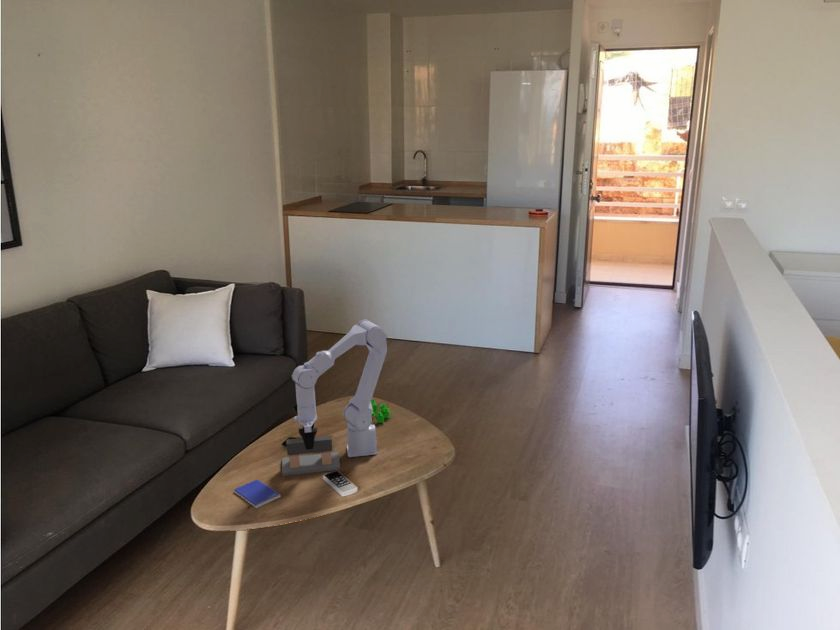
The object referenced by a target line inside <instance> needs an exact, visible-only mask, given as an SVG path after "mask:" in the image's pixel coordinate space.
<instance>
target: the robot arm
mask: <svg viewBox="0 0 840 630" xmlns="http://www.w3.org/2000/svg"><path fill="white" fill-rule="evenodd" d="M387 338H388V334H387V332H386V330H385V329H384V328H383V327H382V326H380V325H377V324H375V323H373V322H372V321H370V320H369V319H362V320H360V321H358V322H357V323H356V324H354V325H353V326H352V327H351V329H350V330H349V332H347V334H345V335H344V336H343V337H342V338H341V339H339V340H338V342H336V343H335V344H334V345H333V346H331V347H330V348H329V349H328V350H321V351H317V352H316V353H315V355H314V356H313V357H312V358H311V359H310V360H308V361H306V362H304V363H303V365H298V366H297V367H295V369H294V370H293V372H292V374H291V378H292V381H293V382H294V383H295V398H296V406H297V407H296V408H297V416H294V417H293V419H294V422H298V423H300V425H301V426H302V428H298V433H299V435H300V437H301V438H303V441H304V444H305V448H306V450H309V449H313V446H314V438H315V437H316V436H317V433H318V427H315V423H316V421H317V420H318V415H317V407H316V406H317V405H316V391H315V386H316V383H317V381H318V378H319V377H320V376H322V375H323V374H324V373H325V372H326V371H329V369H330V368H332V367H333V366H334V365H335V360H336V359H337V358H338V357H340V356H342V355H343V354H344V353H346V352H347V351H349V350H350V349H352V348H353V347H354V346H366V347H367V349H368V355H367V359H366V362H365V364H364V367H363V369H362V370H363V371H362V374H361V376H360V379H359V384H358V385H357V388H356V392H355V395H354V396H353V397H351V398H350V399H349V401H348V404H347V405H345V408H344V409H343V411H342V412H343V413H342V415H343V418H344V419H345V420H346V423H347V424H346V434H347V435H346V436H347V444H346V451H347V457H348V458H357V457H364V456H365V457H366V456H373V455H374V456H375V455H377V454H378V453H377V452H378V451H377V450H378V449H377V446H378V442H377V431H376V425H375V424H371V422H372V423H373V417H372V416H373V415H372V411H373V409H372V405H371V400H373V397H374V393H375V390H376V387H377V384H378V381H379V377H380V374H381V371H382V369H383V365H384V363H385V360H386V356H387V353H388V344H387ZM314 427H315V428H314Z"/></svg>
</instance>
